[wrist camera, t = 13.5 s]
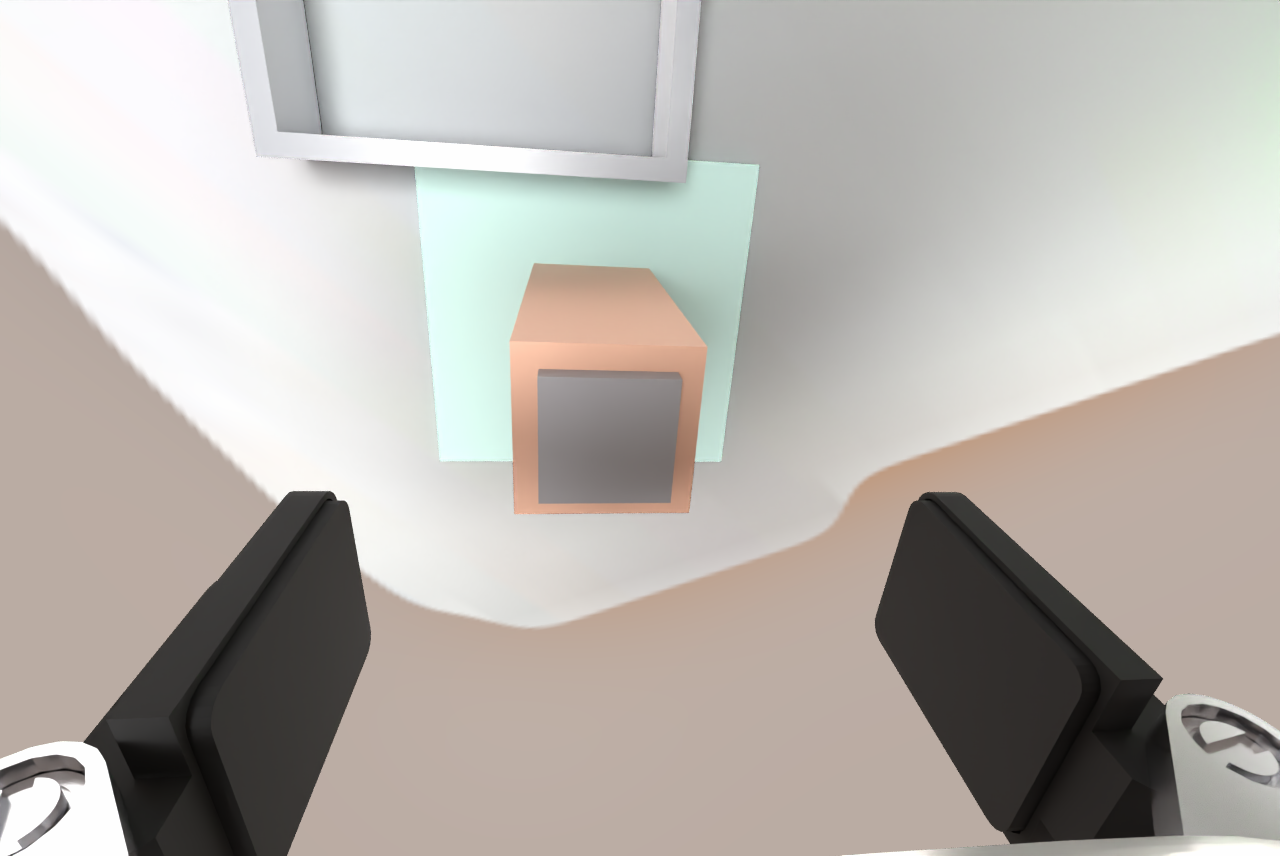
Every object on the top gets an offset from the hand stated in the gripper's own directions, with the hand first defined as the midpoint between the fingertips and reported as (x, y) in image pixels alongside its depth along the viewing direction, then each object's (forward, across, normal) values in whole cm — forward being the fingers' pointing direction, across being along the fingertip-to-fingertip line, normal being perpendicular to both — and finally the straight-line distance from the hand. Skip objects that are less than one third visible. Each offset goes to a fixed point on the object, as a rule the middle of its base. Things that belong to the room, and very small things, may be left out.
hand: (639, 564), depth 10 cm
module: (+18, 0, +1) cm, 18 cm away
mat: (+19, 0, +1) cm, 19 cm away
